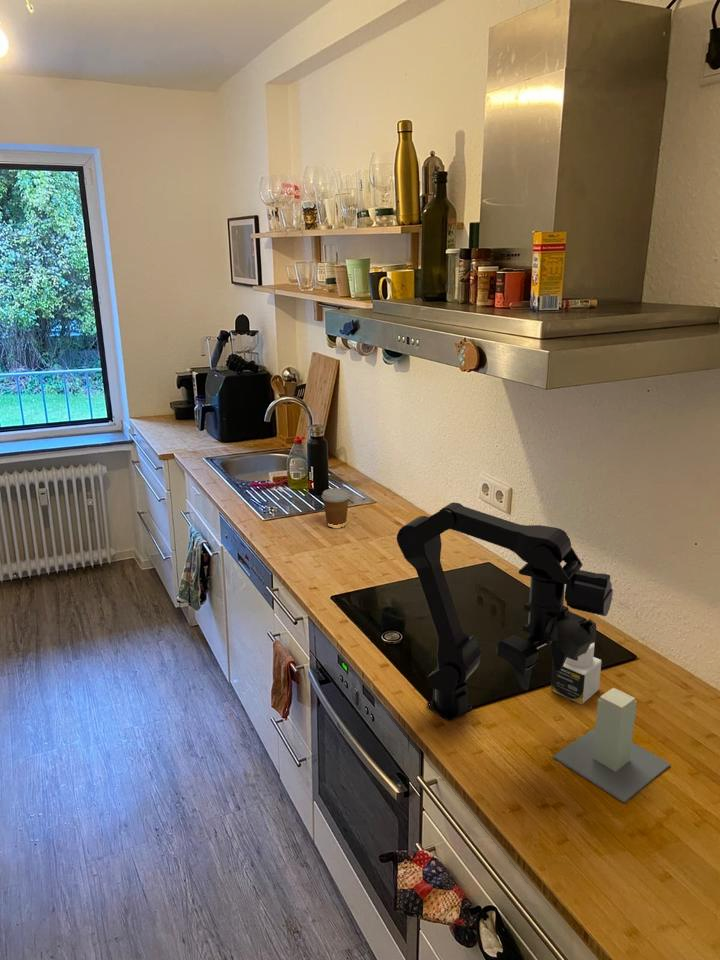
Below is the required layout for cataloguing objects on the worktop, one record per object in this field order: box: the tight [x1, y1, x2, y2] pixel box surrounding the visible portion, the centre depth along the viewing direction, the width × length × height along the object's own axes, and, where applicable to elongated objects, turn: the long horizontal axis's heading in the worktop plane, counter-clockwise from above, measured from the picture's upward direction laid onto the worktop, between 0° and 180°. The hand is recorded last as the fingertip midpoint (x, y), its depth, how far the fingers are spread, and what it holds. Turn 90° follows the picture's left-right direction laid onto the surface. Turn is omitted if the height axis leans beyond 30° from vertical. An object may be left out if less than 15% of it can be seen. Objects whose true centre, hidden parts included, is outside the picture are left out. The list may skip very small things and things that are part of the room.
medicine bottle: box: [550, 642, 603, 705], centre depth 140 cm, size 7×7×12 cm
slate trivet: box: [552, 727, 671, 804], centre depth 121 cm, size 14×14×1 cm
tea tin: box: [593, 687, 638, 772], centre depth 119 cm, size 4×4×13 cm
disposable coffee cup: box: [321, 487, 351, 525], centre depth 234 cm, size 10×10×12 cm
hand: (541, 679), depth 124 cm, fingers open, 9 cm apart
